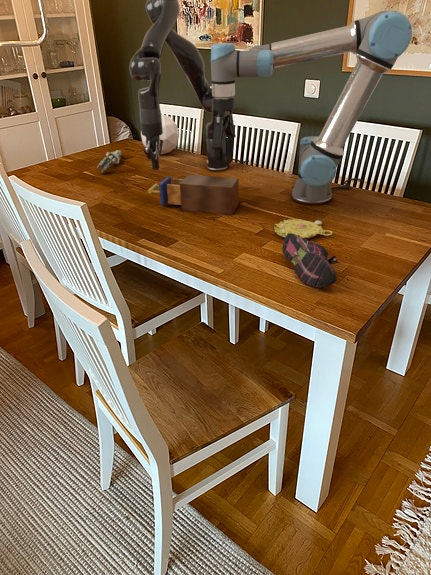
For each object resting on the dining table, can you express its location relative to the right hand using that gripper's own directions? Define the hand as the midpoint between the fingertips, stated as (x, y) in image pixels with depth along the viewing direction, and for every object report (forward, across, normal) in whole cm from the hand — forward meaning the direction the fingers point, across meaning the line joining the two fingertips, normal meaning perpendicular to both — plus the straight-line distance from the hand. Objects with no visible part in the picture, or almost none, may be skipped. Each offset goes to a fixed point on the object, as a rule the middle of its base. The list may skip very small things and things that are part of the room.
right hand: (224, 161), depth 156 cm
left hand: (+4, 0, -27) cm, 27 cm away
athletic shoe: (+18, +39, +36) cm, 56 cm away
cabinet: (+18, 0, -6) cm, 19 cm away
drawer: (+17, 0, -18) cm, 24 cm away
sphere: (+18, -64, -52) cm, 85 cm away
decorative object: (+18, +14, +30) cm, 38 cm away
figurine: (+18, -40, -68) cm, 81 cm away
